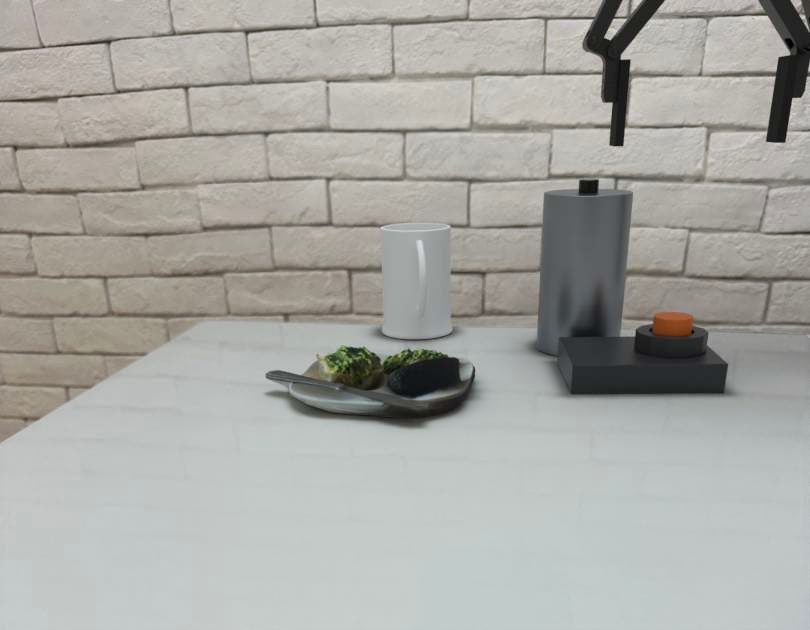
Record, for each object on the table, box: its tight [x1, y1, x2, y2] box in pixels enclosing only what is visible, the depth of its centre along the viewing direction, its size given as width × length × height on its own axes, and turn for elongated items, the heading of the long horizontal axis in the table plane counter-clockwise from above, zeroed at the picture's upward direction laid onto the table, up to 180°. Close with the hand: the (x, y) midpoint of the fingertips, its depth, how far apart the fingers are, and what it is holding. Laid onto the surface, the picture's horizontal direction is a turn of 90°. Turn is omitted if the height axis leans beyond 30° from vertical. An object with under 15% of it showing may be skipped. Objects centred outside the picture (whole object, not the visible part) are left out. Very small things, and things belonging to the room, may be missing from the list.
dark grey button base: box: [556, 323, 729, 395], centre depth 83 cm, size 14×11×4 cm
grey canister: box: [536, 178, 634, 357], centre depth 91 cm, size 9×9×17 cm
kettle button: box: [652, 311, 694, 336], centre depth 82 cm, size 4×4×2 cm
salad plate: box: [265, 345, 476, 419], centre depth 80 cm, size 19×18×5 cm
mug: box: [380, 222, 453, 340], centre depth 99 cm, size 12×8×12 cm
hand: (695, 144), depth 74 cm, fingers open, 13 cm apart
